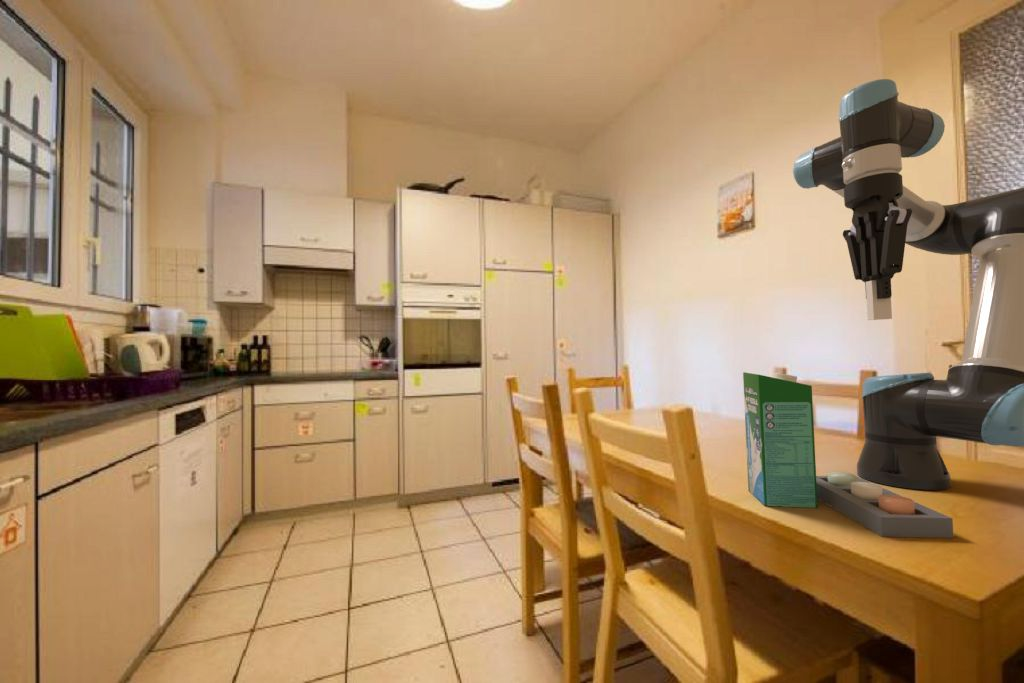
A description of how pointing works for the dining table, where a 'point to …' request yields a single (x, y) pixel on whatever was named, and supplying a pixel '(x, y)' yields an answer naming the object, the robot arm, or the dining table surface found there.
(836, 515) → the dining table surface
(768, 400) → the milk carton
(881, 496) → the terracotta button
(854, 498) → the grey button tray
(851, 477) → the sage button
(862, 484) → the ivory button
